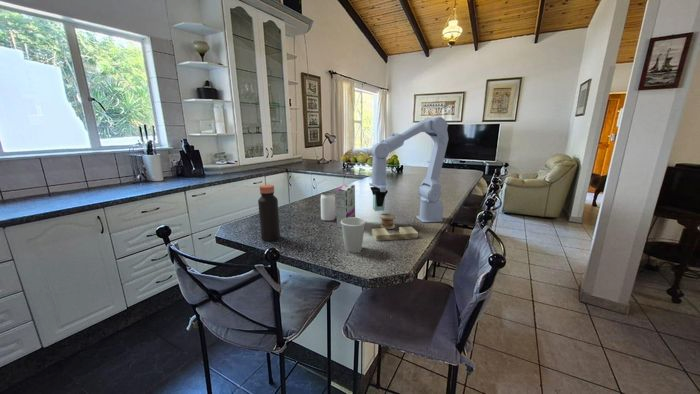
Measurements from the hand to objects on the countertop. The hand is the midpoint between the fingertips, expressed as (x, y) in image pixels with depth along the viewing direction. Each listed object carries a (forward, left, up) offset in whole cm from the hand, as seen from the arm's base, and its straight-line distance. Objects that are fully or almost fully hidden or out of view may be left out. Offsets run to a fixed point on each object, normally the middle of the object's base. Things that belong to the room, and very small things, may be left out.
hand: (378, 204), depth 116 cm
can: (+21, -10, -9) cm, 24 cm away
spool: (-3, +5, -8) cm, 10 cm away
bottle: (+44, +9, -9) cm, 45 cm away
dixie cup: (+15, +23, -9) cm, 29 cm away
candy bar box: (+14, -2, -9) cm, 16 cm away
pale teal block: (0, 0, -2) cm, 2 cm away
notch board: (-3, +14, -8) cm, 17 cm away
